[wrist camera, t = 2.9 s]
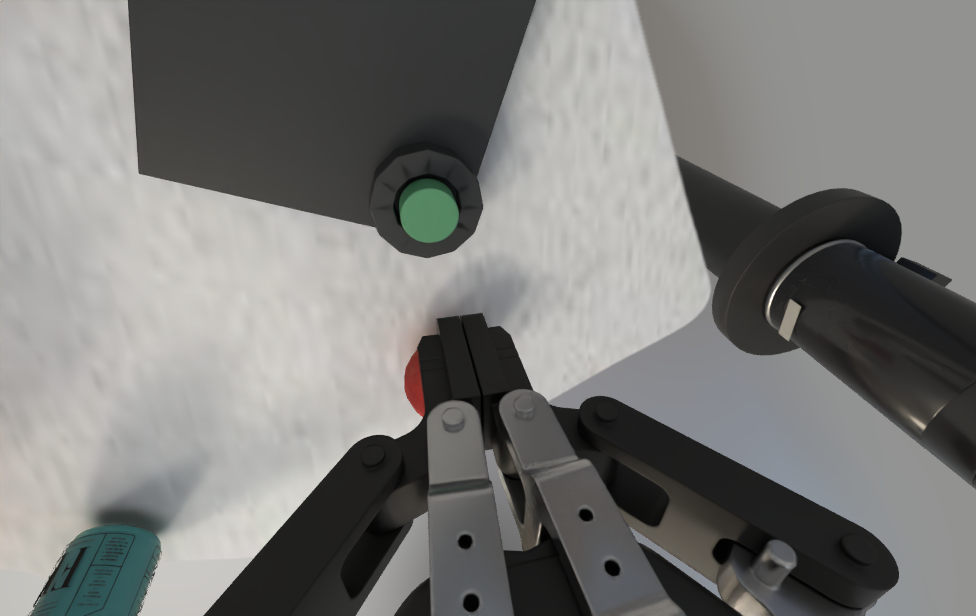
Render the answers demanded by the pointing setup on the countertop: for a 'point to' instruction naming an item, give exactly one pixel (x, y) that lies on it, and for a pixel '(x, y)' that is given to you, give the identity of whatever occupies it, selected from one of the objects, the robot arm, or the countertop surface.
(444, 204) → the button
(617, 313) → the countertop surface
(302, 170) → the scale
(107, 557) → the beverage bottle
